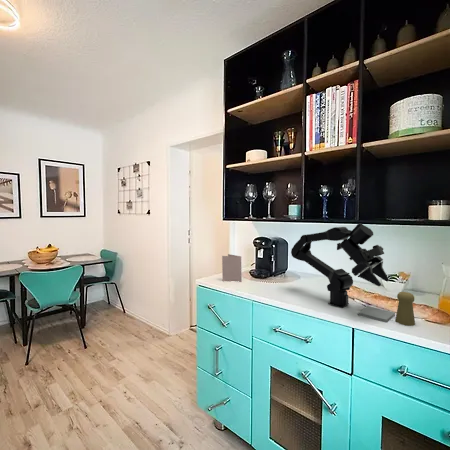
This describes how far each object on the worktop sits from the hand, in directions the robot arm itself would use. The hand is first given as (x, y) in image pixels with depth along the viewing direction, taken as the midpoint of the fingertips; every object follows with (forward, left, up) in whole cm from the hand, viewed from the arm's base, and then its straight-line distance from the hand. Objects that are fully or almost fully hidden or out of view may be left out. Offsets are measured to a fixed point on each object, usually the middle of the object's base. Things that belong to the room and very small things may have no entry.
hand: (384, 283), depth 102 cm
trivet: (-2, 0, -13) cm, 13 cm away
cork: (+7, 0, -13) cm, 15 cm away
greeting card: (-79, -5, -13) cm, 80 cm away
